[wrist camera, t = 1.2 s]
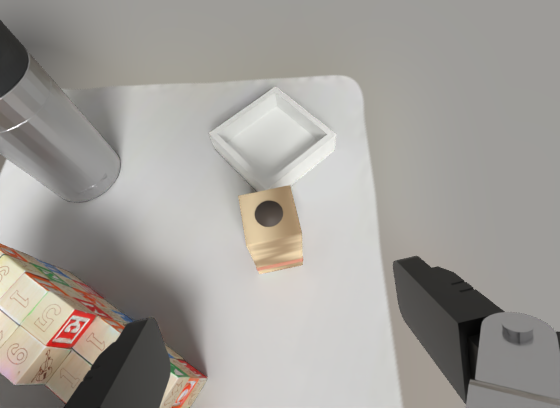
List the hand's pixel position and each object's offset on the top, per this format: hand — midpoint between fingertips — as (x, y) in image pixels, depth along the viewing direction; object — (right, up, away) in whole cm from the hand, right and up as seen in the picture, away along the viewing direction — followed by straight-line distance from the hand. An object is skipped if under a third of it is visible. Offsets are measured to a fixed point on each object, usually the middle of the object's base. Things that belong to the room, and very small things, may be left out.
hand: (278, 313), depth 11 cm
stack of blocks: (-18, -12, +25) cm, 33 cm away
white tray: (-1, +11, +35) cm, 37 cm away
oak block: (0, -2, +29) cm, 29 cm away
